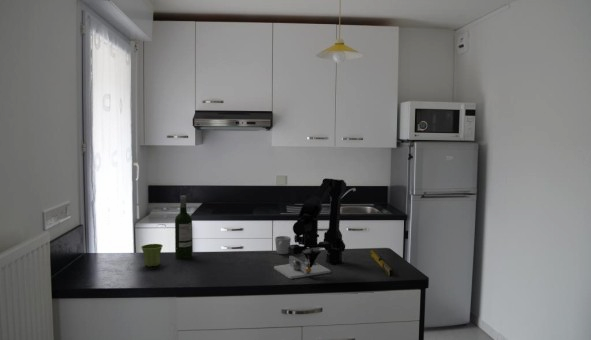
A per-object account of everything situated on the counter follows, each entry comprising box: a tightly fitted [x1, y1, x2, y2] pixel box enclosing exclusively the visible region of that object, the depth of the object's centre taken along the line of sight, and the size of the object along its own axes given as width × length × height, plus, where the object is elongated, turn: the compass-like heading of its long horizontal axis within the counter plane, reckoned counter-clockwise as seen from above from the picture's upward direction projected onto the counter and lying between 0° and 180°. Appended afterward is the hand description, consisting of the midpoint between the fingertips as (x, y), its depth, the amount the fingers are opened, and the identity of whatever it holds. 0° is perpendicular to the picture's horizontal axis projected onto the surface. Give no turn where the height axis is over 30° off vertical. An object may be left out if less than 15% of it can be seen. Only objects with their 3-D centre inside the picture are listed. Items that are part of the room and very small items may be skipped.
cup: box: [274, 235, 292, 255], centre depth 215 cm, size 11×8×8 cm
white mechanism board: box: [273, 257, 331, 280], centre depth 189 cm, size 20×16×4 cm
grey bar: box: [288, 255, 311, 274], centre depth 186 cm, size 5×18×4 cm, turn 28°
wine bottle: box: [174, 195, 193, 260], centre depth 207 cm, size 8×8×30 cm
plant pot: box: [140, 243, 163, 267], centre depth 194 cm, size 9×9×9 cm
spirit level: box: [369, 249, 393, 277], centre depth 199 cm, size 33×1×3 cm, turn 4°
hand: (310, 267), depth 182 cm, fingers closed
